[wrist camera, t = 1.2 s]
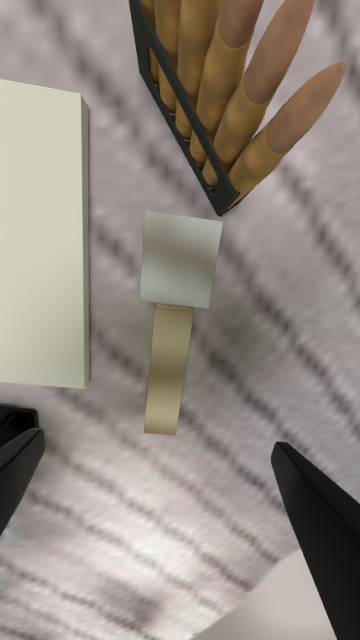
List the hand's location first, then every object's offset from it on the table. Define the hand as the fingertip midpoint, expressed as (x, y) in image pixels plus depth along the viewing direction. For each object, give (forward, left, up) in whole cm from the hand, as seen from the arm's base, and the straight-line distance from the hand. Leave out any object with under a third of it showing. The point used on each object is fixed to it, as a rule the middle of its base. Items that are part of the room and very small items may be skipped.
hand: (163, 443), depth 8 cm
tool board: (+5, +12, -12) cm, 18 cm away
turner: (0, 0, -12) cm, 12 cm away
